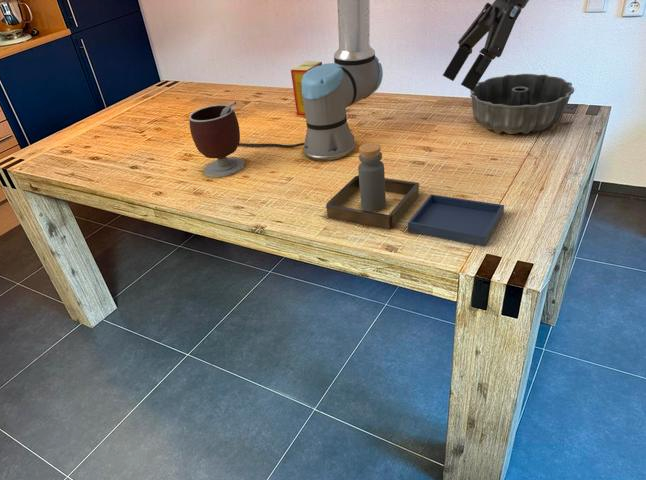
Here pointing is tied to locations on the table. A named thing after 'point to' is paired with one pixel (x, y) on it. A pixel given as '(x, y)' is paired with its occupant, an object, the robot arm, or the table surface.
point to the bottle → (371, 178)
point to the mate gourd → (217, 138)
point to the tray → (456, 219)
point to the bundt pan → (520, 102)
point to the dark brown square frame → (369, 217)
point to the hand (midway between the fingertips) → (456, 82)
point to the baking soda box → (297, 85)
